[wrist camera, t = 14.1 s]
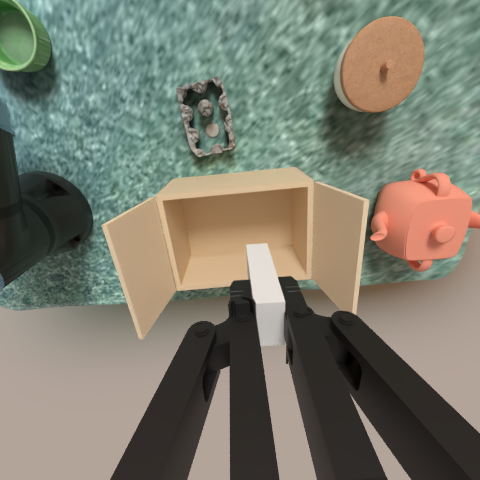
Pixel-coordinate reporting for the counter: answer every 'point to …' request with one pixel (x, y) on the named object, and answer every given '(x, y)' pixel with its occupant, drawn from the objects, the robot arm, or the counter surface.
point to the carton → (237, 225)
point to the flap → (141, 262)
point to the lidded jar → (379, 65)
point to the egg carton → (205, 110)
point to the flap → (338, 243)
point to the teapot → (422, 219)
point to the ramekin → (22, 39)
